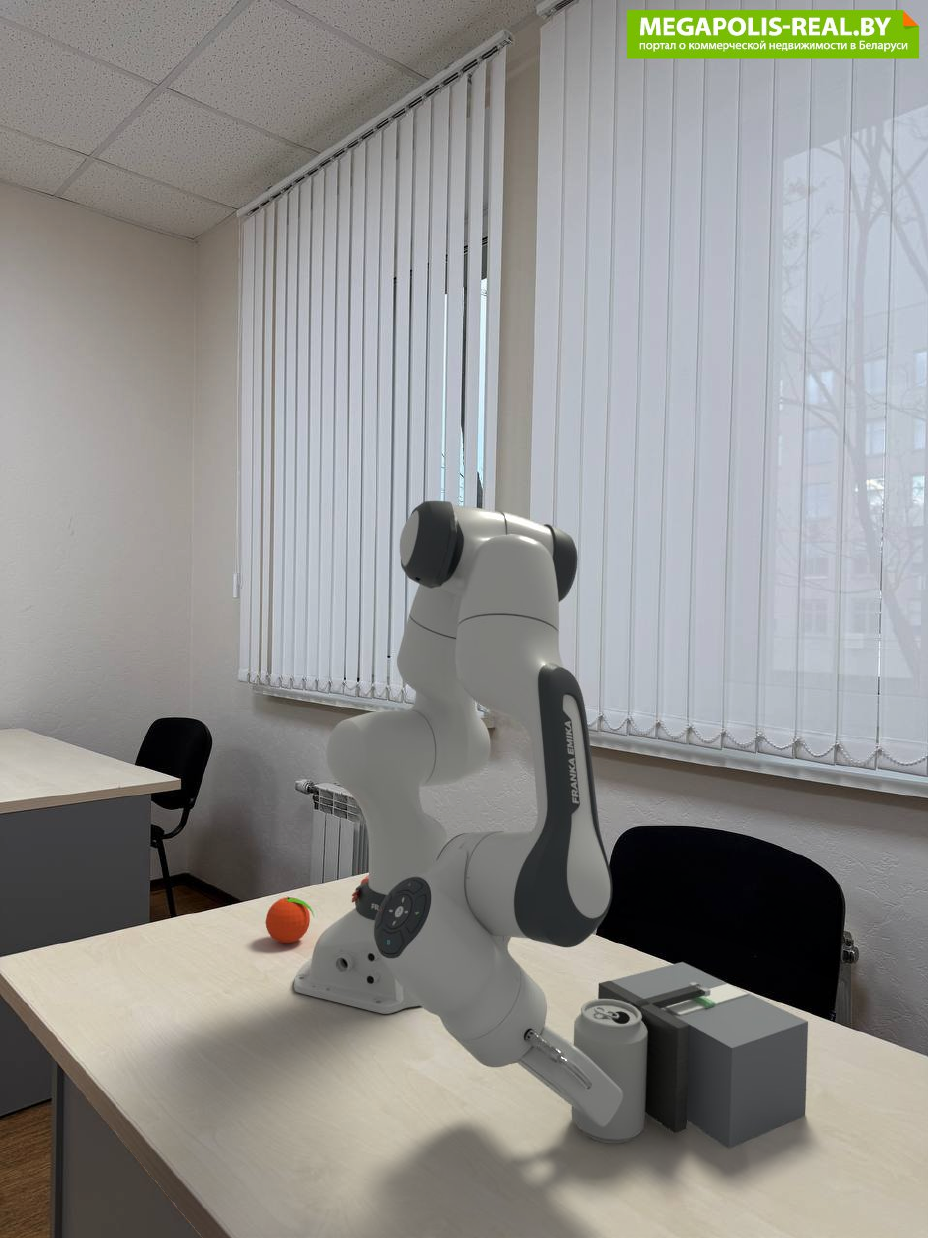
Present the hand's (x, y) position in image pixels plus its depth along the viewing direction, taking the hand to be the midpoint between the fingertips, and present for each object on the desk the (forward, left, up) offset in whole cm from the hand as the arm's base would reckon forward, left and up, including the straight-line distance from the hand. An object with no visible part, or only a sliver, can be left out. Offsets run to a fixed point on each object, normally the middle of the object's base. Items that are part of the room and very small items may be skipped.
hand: (575, 1090), depth 85 cm
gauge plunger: (+9, +9, -4) cm, 14 cm away
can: (+3, +3, -5) cm, 7 cm away
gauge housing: (+13, +13, -5) cm, 19 cm away
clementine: (-49, +39, -5) cm, 63 cm away
